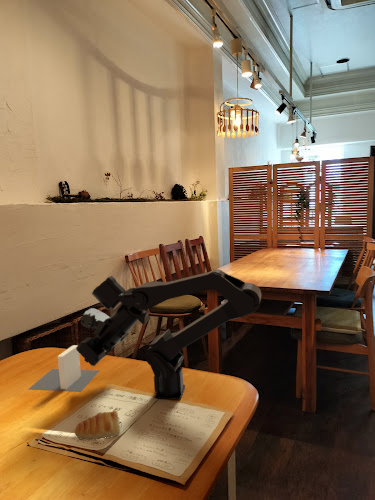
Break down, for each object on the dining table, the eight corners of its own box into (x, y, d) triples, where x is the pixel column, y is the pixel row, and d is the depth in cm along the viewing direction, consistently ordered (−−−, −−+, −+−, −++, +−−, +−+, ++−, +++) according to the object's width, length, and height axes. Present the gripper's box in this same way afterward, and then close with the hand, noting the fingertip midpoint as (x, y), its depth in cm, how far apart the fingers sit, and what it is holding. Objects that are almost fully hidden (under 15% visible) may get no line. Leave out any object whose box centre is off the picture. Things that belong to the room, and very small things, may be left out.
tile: (81, 376, 104) (78, 345, 103) (66, 389, 97) (62, 356, 96) (75, 375, 104) (72, 345, 103) (60, 388, 97) (57, 356, 96)
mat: (100, 372, 107) (99, 370, 107) (81, 393, 95) (80, 391, 95) (52, 370, 110) (52, 368, 110) (28, 391, 98) (28, 389, 98)
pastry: (75, 447, 75) (73, 429, 74) (75, 428, 81) (73, 412, 80) (122, 436, 77) (121, 419, 77) (118, 419, 84) (117, 403, 83)
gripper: (115, 290, 104) (83, 327, 108) (80, 310, 86) (43, 353, 90) (143, 318, 103) (110, 354, 107) (114, 344, 85) (75, 386, 89)
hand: (86, 360), depth 98 cm, fingers closed
